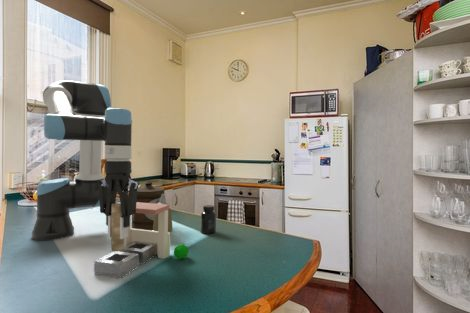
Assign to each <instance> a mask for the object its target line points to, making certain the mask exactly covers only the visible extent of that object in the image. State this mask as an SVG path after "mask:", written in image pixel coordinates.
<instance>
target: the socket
mask: <svg viewBox="0 0 470 313" xmlns="http://www.w3.org/2000/svg"><path fill="white" fill-rule="evenodd" d="M93 265H94V267H93V268H94V271H93V272H94V273H93V274H94V275H96V276H101V275H102V277H107V276H108V278H113V277H115V278H114V279H119V278H121V279H122V278H124V277H125V276H127V275H129V274H130V273H131V272H133V271H134V270H136V269H137V268H136V267H138V266H139V267H140V264H139V254H135V253H127V252H120V251H111V252H110V253H107V254H106V255H104V256H102V257H100V258H97V259H96V260H94V264H93ZM139 267H138V268H139ZM135 268H136V269H135ZM133 269H134V270H133ZM132 270H133V271H132ZM129 272H130V273H129ZM126 274H127V275H126ZM123 276H124V277H123Z"/></svg>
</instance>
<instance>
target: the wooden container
mask: <svg viewBox="0 0 470 313" xmlns="http://www.w3.org/2000/svg"><path fill="white" fill-rule="evenodd" d="M162 194H165V188H164V187H161V186H160V187H159V186H153V181H152V180H146V181H145V182H144V186H141V187H139V186H138V189H137V202H141V203H153V204H157V203H159V202H160V200H161V196H162ZM153 223H154V215H153V214H142V213H135V214H132V215H131V228H133V229H142V230H151V231H152V230H153Z"/></svg>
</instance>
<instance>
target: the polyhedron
mask: <svg viewBox="0 0 470 313" xmlns="http://www.w3.org/2000/svg"><path fill="white" fill-rule="evenodd" d="M189 251H190V250H189V247H188V246H187V245H185V244H184V243H180V244H178V245H176V246H175V247H174V249H173V255H174V257H175V258H177V259H179V260H184V259H186V258H187V257H188V255H189Z"/></svg>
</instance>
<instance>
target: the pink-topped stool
mask: <svg viewBox="0 0 470 313" xmlns="http://www.w3.org/2000/svg"><path fill="white" fill-rule="evenodd" d="M169 208H170V204H169V205H166V204H153V203H141V202H136V213H142V214H153V215H156V214H158V231H151V230H142V229H133V228H131V222H132V219H131V216H132V215H130V225H129V227H128V237H126V238H124V246H125V245H127V244H129V243H131V242H133V241H141V242H149V243H157V254H158V255H157V258H158V259H164V260H165V258H166V259H167V257H170V256H171V234H170V233H169V232H168V209H169Z"/></svg>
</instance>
